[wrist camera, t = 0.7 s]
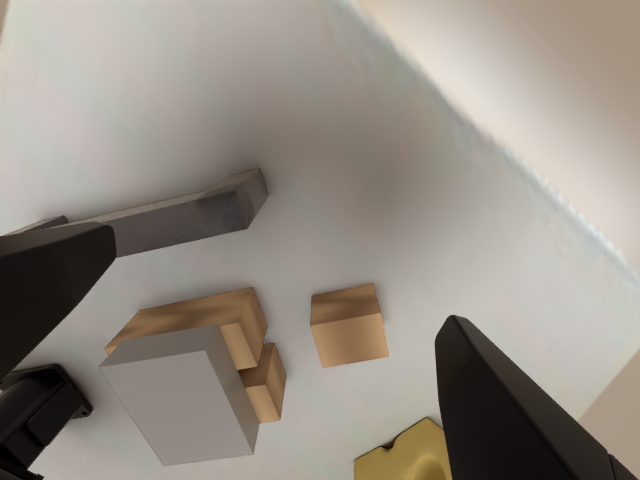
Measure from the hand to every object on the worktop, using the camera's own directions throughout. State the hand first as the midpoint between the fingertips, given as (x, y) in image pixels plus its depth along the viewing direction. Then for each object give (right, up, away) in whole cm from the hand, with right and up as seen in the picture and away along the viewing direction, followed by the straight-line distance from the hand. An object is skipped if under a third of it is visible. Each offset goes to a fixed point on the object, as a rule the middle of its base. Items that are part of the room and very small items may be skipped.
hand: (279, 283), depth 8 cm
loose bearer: (+3, -5, +17) cm, 18 cm away
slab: (-8, -10, +14) cm, 19 cm away
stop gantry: (-11, +3, +14) cm, 18 cm away
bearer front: (-9, -5, +18) cm, 20 cm away
